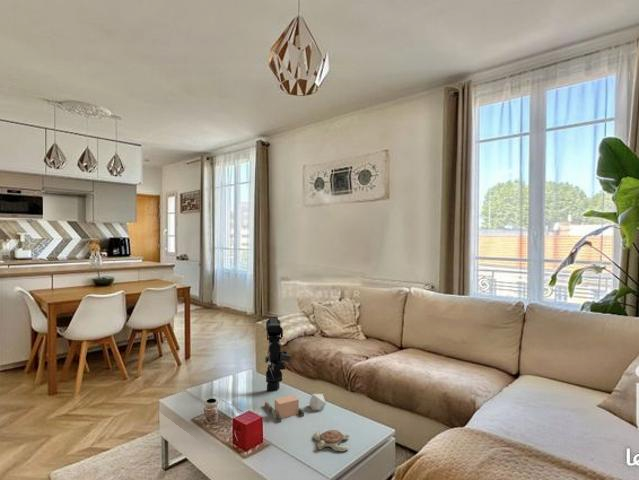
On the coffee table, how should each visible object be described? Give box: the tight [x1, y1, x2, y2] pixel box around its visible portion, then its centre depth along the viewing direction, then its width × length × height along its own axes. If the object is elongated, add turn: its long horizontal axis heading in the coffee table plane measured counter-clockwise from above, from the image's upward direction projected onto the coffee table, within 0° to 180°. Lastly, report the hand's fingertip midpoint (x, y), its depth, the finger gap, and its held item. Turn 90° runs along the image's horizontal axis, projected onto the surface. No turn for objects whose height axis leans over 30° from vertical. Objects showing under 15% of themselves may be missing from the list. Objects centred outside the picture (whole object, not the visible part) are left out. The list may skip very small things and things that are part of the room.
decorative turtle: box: [312, 429, 350, 452], centre depth 157 cm, size 18×17×5 cm
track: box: [264, 400, 305, 424], centre depth 182 cm, size 19×13×4 cm
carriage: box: [274, 394, 300, 419], centre depth 179 cm, size 6×10×7 cm, turn 119°
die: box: [308, 393, 327, 411], centre depth 186 cm, size 8×9×10 cm
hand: (275, 379), depth 193 cm, fingers closed
